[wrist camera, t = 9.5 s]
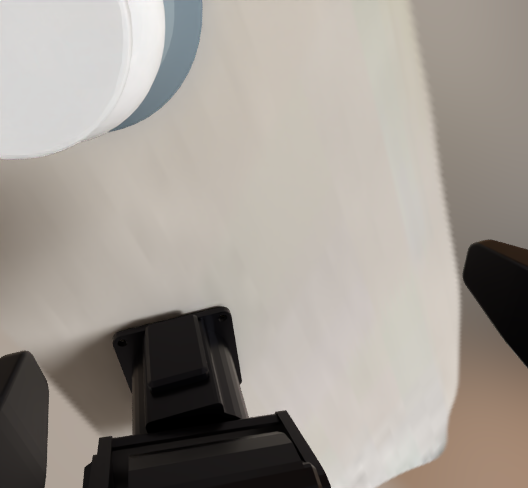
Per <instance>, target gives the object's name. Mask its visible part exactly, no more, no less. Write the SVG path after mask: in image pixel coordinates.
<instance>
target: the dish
mask: <svg viewBox="0 0 528 488" xmlns="http://www.w3.org/2000/svg"><path fill="white" fill-rule="evenodd" d="M163 4H164V11H165V41H164V49H163V55H162V59H161V63H160V67H159V70H158V72H157V75H156V77H155V79H154V82H153V84H152V86H151V88H150V90H149V92H148V94H147V95H146V97H145V98H144V100H143V101H142V103H141V104H140V105H139V107H138V108H137V109H136V110H135V111H134V112H133V113H132V114H131V115H130V116H129V117H128V118H127V119H126V120H124V121H123V122H122V123H121V124H120V125H118V126H117V127H115V128H113V129H112V130H110V131H108V132H111V131H115V130H120V129H123V128H126V127H128V126H131V125H134V124H136V123H138V122H140V121H142V120H144V119H146V118H147V117H149V116H150V115H152V114H153V113H155V112H156V111H157V110H159V109H160V108H161V107H162V106H163V105H164V104H165V103H166V102H168V101H169V100H170V99H171V98H172V96H173V95H174V94H175V93H176V91H177V90H178V89H179V87H180V86H181V84H182V83H183V81H184V79H185V78H186V76H187V74H188V73H189V70H190V68H191V65H192V63H193V61H194V58H195V55H196V51H197V48H198V44H199V40H200V33H201V27H202V0H163Z"/></svg>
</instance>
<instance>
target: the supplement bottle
mask: <svg viewBox="0 0 528 488" xmlns="http://www.w3.org/2000/svg"><path fill="white" fill-rule="evenodd" d="M164 41H165V11H164V4H163V0H0V159H2V160H17V159H31V158H38V157H43V156H47V155H51V154H54V153H57V152H60V151H63V150H65V149H68V148H70V147H72V146H74V145H76V144H78V143H80V142H83V141H87V140H90V139H93V138H96V137H98V136H101V135H103V134H105V133H107V132H108V131H110V130H112V129H113V128H115V127H117V126H118V125H120V124H121V123H122V122H123V121H124V120H126V119H127V118H128V117H129V116H130V115H131V114H132V113H133V112H134V111H135V110H136V109H137V108H138V107H139V105H140V104H141V103H142V101H143V100H144V98H145V97H146V95H147V94H148V92H149V90H150V88H151V86H152V84H153V82H154V79H155V77H156V75H157V72H158V70H159V67H160V63H161V59H162V55H163V49H164Z"/></svg>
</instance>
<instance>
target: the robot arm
mask: <svg viewBox="0 0 528 488" xmlns="http://www.w3.org/2000/svg"><path fill="white" fill-rule="evenodd" d="M463 280H464V283H465V285H466V286H467V288H468V289H469V291H470V292H471V293H472V295H473V296H474V298H475V299H476V301H477V302H478V304H479V305H480V306H481V308H482V309H483V311H484V312H485V314H486V315H487V316H488V318H489V319H490V321H491V322H492V324H493V325H494V327H495V328H496V329H497V331H498V332H499V334H500V335H501V336H502V338H503V339H504V340H505V342H506V343H507V344H508V345H509V347H510V348H511V349H512V350H513V352H514V353H515V354H516V355H517V356H518V357H519V358H520V360H521V361H522V362H523V363H524V365H525V366H526V367H527V368H528V250H527V249H524V248H520V247H516V246H513V245H509V244H506V243H502V242H498V241H495V240H483V241H479V242H475V243H473V244H471V245H470V247H469V248H468V252H467V256H466V261H465V265H464V269H463ZM221 315H225V316H223V317H219V316H221ZM120 340H126V341H120ZM113 347H114V349H115V352H116V354H117V357H118V359H119V362H120V365H121V367H122V370H123V372H124V375H125V377H126V380H127V382H128V385H129V388H130V390H131V393H132V435H130V436H123V437H117V438H112V436H109V437H102V438H99V445H98V452H97V455H93V458H92V462H91V463H90V464H88V465H87V466H86V467H85V469H84V479H83V488H331V486H330V483H329V481H328V478H327V476H326V473H325V472H324V470H323V468H322V466H321V464H320V463H319V461H318V460H317V458H316V456H315V455H314V453H313V452H312V450H311V449H310V447H309V445H308V444H307V442H306V441H305V439H304V438H303V436H302V434H301V433H300V431H299V430H298V428H297V426H296V425H295V423H294V422H293V420H292V419H291V417H290V415H289V414H288V412H287V411H286V410H285V411H278V412H275V414H271V415H264V416H258V417H251V418H249V416H248V413H247V409H246V406H245V402H244V399H243V395H242V391H241V388H240V384H241V382H242V378H241V372H240V366H239V360H238V354H237V348H236V341H235V335H234V329H233V323H232V317H231V313H230V311H229V309H228V308H226V307H219V308H215V309H210V310H206V311H202V312H198V313H194V314H190V315H186V316H182V317H177V318H173V319H169V320H165V321H161V322H157V323H153V324H149V325H144V326H140V327H136V328H132V329H128V330H124V331H120V332H117V333H116V334H115V335H114V337H113ZM48 404H49V389H48V383H47V380H46V378H45V377H44V375H43V373H42V371H41V369H40V367H39V366H38V364H37V362H36V360H35V358H34V357H33V355H32V354H31V353H30V352H29V351H20V352H16V353H12V354H8V355H5V356H3V357H1V358H0V488H44V487H45V479H46V466H47V438H48Z"/></svg>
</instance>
